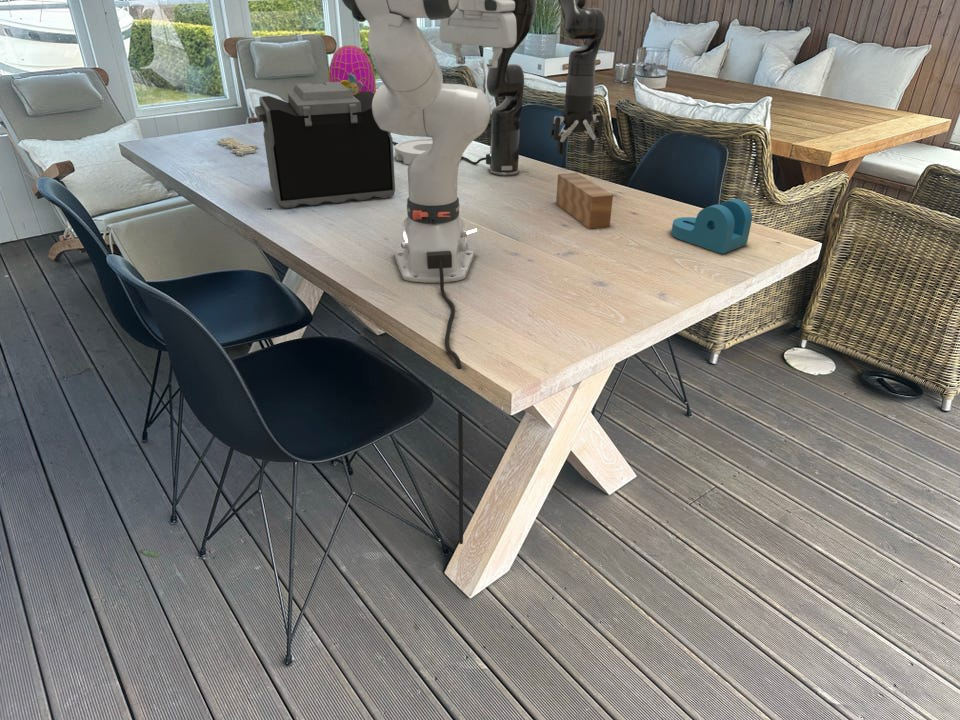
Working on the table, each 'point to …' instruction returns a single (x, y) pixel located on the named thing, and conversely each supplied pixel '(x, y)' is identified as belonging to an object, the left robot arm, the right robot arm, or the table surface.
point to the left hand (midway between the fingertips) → (476, 65)
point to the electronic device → (325, 146)
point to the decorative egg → (352, 67)
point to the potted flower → (352, 84)
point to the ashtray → (412, 149)
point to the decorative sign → (237, 146)
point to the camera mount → (716, 226)
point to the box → (584, 200)
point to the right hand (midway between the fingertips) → (575, 154)
